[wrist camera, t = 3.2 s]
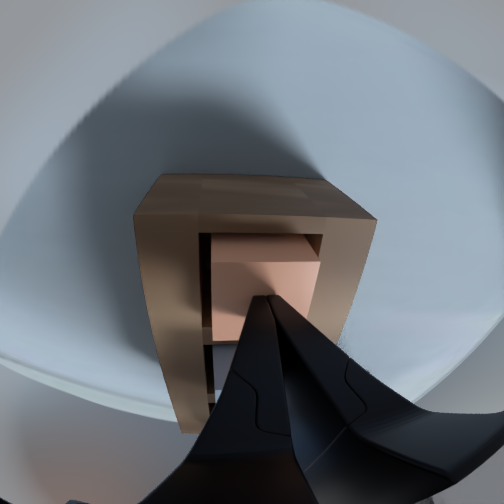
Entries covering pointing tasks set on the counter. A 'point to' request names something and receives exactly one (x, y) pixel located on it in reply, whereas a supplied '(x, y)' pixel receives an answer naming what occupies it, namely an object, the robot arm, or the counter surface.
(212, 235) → the key terracotta
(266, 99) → the counter surface
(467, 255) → the counter surface
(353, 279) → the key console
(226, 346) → the key blue
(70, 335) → the counter surface
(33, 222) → the counter surface
